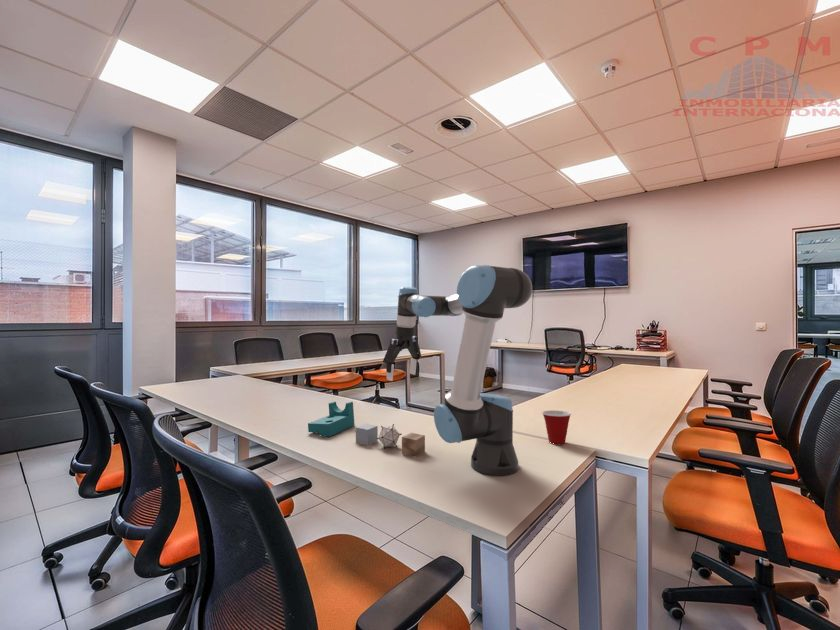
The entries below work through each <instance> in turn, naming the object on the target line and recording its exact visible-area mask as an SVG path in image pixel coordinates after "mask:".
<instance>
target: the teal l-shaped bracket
mask: <svg viewBox="0 0 840 630" xmlns="http://www.w3.org/2000/svg"><path fill="white" fill-rule="evenodd" d="M354 410H355V409H354V402H353V401H348V402H345V406H344V409H341V408H340V407H339V406H338V405H337V402H336V401H332V402H329V403H328V413H329V414H328V415H326V416H324V417H321V418H319V419H316V420H313V421H311V422H308V423H307V430H308V431H307V432H308V433H318V436H319V435H321V436H320V437H331V436H334V435H336V434H338V433H341V432H343V431H345V430H347V429H348V428H351V427H353V426H355V414H354V413H355V412H354Z"/></svg>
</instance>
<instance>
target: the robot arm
mask: <svg viewBox="0 0 840 630" xmlns="http://www.w3.org/2000/svg"><path fill="white" fill-rule="evenodd" d="M532 293H533V283H532V280H531V279H530V276H529V275H528V274H527V273H525V272H524V271H523V270H522V269H518V268H516V267H514V268H513V267H503V266H496V265H495V266H493V265H488V264H482V265H472V266H470V267H468V268H467V269H466V270H464V271H463V272H462V274H461V276H460V277H459V280H458V282H457V286H456V293H455V294H454V293H453V294H451V295H447V296H443V295H442V296H439V295H421V294H419V289H418V287H411V286H401V287H400V288H399V292H398V296H397V298H398V299H397V301H398V302H397V312H396V313H397V315H396V327H395V335H396V339H395V338H391V339H390V341H389V345H388V348H387V351H386V353H385V355H384V357H383V360H382V363H384V364H386V380H388V381H389V382H393V380H394V370H395V369H394V368H395V364H393V363H394V362H395V361H396V359H397V357H398V356H399V354H400V352H402V351H403V350H406V349H407V351H408V353H409V354H410V356H411V358H410V363H409V372H408V373H409V374H411V375H414V376H416V370H417V364H418V360H420V358H421V357H422V352H421V350H420V345H419V337H418V336H416V335H415V332H416V330H415V329H416V327H415V326H416V320H417V319H416V318H417V316H418V317H420V318H429V317H435V316H437V317H438V316H440V317H441V316H442V317H443V316H445V317H447V316H449V317H456V316H458V317H459V316H461V315H463V314H464V315H465V317H464V324H463V329H462V334H461V339H460V345H459V348H458V349H459V351H458V356H457V360H456V366H455V370H454V375H453V380H452V385H451V390H449V391H447V392H446V393H445V394H444V395H445V396H444V399H443V400H444V402H443V403H439V404H437V406H435V408H434V411H433V421H434V425H435V429H436V431H437V433H438V434H439V437H440V438H441V439H442V440H443V441H444V442H446V443H448V444H453V443H461V442H466V441H471V440H476V441H475V444H474V448H473V450H472V454H471V456H470V466H471V468H472V469H473V470H475V471H477V472H478V473H481V474H484V475H488V476H497V477H498V476H499V477H501V476H508V475H509V476H510V475H513V474H515V473H517V471H519V460H518V459H519V458H518V457H517V453H516V449H515V447H514V442H513V439H514V437H513V435H514V431H513V428H514V427H513V426H514V425H513V424H514V423H513V421H514V417H513V415H514V410H513V401H512V399H511V398H510V397H508V396H505V395H501V394H496V393H486V392H485V393H484V392H482V391H481V390H482V386H483V382H484V378H485V374H486V370H487V369H486V368H487V365H488V359H489V354H490V349H491V345H492V341H493V336H494V332H495V327H496V323H497V322H498V321H500V320H502V319H503V316H504V312H505V309H515V308H516V309H517V308H519V307H522V306H523V305H525V304H526V303H527V302H528V301H529V300H530V298H531V297H532Z"/></svg>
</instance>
